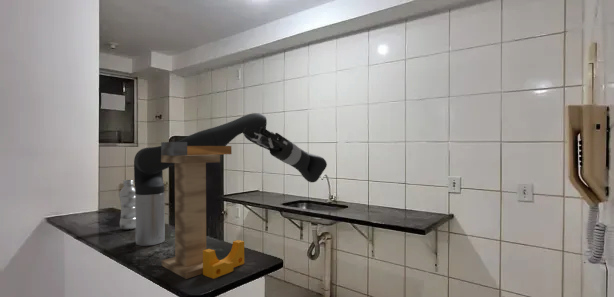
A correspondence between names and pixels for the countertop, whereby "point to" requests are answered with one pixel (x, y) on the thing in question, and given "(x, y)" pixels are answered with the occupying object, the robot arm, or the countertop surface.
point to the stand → (189, 213)
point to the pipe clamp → (223, 260)
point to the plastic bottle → (128, 205)
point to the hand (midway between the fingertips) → (252, 130)
